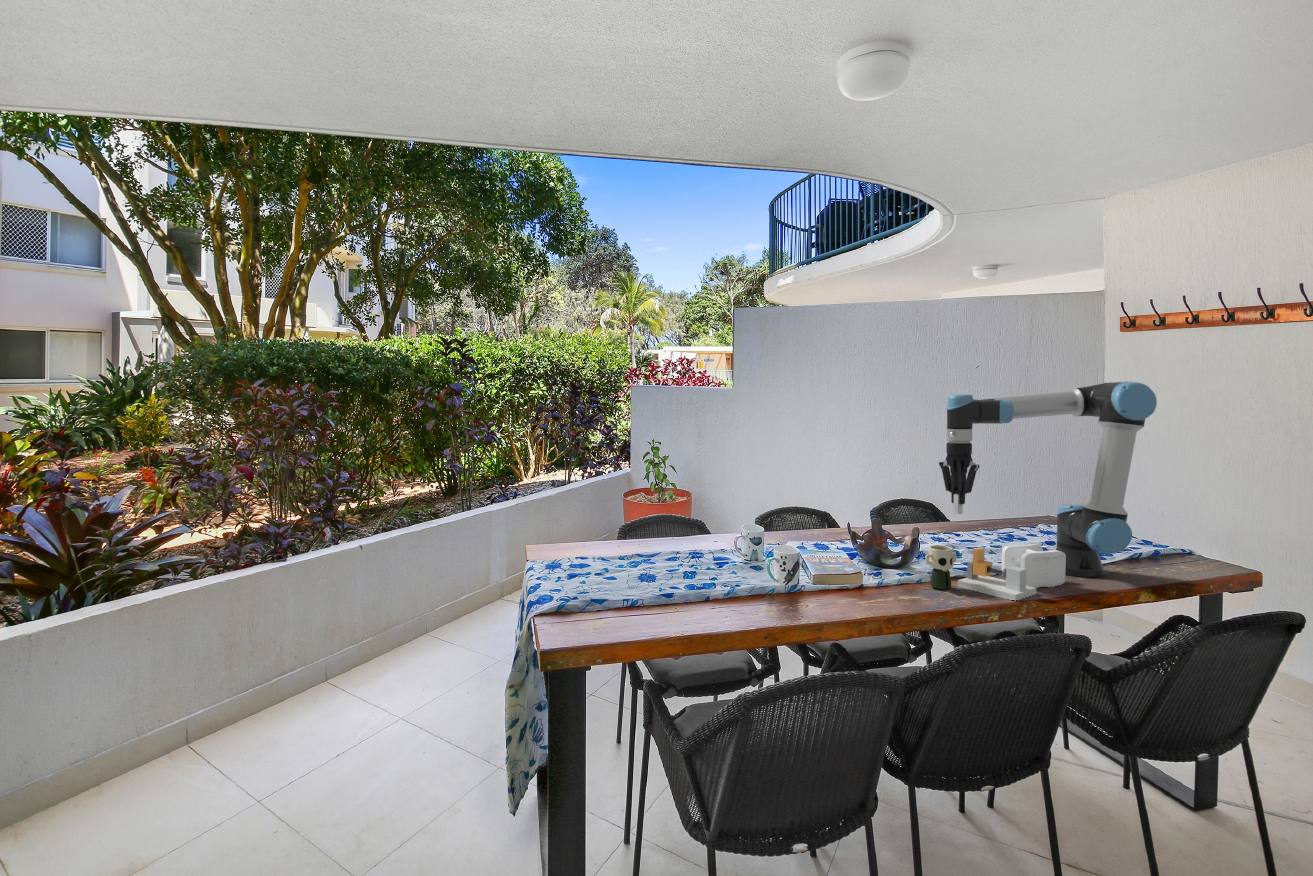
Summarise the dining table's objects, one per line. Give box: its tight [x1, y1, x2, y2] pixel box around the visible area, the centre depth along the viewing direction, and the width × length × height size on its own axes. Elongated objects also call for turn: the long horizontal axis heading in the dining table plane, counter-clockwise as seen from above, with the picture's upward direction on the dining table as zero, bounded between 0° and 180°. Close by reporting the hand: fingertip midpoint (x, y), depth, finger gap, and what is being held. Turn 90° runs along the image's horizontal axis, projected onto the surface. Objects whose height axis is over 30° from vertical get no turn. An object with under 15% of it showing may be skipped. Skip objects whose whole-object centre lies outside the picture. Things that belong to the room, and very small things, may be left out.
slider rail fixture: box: [957, 560, 1037, 602], centre depth 194 cm, size 12×18×8 cm, turn 32°
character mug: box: [925, 544, 957, 590], centre depth 197 cm, size 11×7×13 cm, turn 103°
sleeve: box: [972, 546, 993, 577], centre depth 198 cm, size 4×4×8 cm
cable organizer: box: [1001, 543, 1066, 589], centre depth 200 cm, size 15×11×12 cm
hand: (957, 513), depth 204 cm, fingers closed
